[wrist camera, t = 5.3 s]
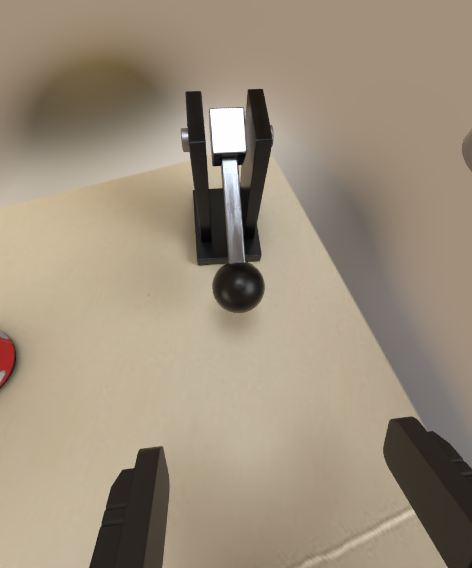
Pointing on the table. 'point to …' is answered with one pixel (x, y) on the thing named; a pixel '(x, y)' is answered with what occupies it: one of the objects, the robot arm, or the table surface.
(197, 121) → the bracket
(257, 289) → the lever
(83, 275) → the table surface
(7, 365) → the beverage can
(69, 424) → the table surface
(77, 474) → the table surface
